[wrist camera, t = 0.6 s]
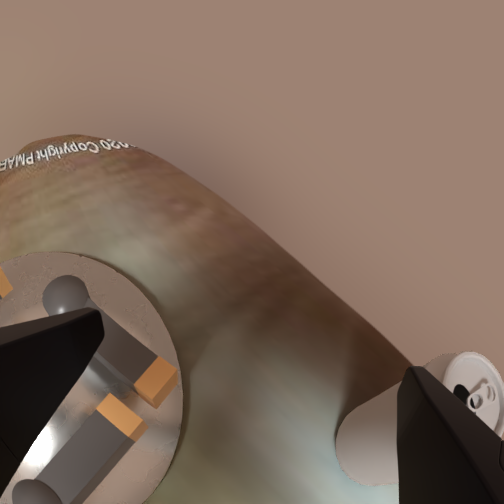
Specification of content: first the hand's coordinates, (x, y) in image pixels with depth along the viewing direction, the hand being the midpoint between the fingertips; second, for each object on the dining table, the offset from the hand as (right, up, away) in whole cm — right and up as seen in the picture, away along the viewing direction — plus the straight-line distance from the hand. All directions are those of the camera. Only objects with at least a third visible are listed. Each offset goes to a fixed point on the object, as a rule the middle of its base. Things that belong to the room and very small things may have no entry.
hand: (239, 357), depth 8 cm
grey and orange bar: (-10, -5, +12) cm, 16 cm away
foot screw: (-10, -11, +5) cm, 16 cm away
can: (+10, -13, +12) cm, 20 cm away
